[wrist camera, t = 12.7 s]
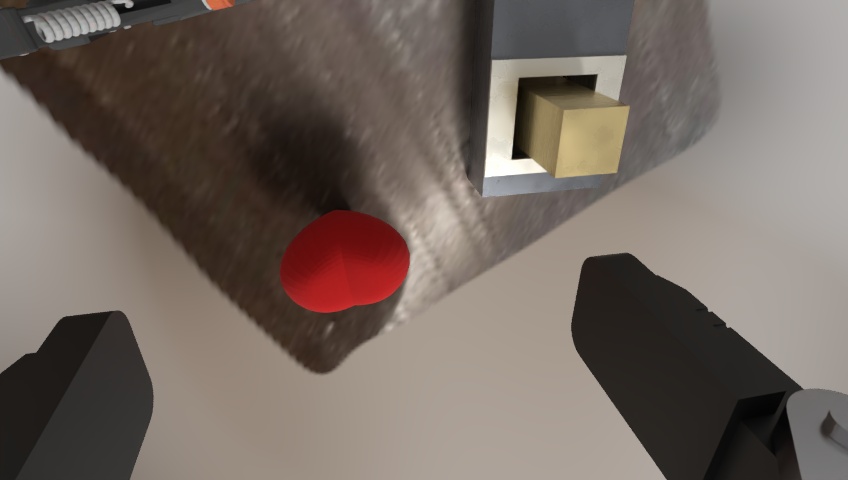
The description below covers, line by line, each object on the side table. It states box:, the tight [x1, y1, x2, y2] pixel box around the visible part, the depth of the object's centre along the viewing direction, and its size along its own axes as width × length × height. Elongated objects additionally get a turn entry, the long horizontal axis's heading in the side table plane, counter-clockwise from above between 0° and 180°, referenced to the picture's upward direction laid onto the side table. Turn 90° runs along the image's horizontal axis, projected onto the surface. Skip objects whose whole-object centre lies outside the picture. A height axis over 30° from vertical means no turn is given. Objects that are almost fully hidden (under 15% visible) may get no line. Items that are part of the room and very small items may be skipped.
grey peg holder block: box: [468, 0, 635, 197], centre depth 35 cm, size 24×10×4 cm, turn 0°
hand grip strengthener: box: [0, 0, 254, 59], centre depth 25 cm, size 2×13×15 cm, turn 101°
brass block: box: [513, 76, 630, 178], centre depth 35 cm, size 4×4×10 cm
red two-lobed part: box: [280, 210, 410, 313], centre depth 37 cm, size 9×7×10 cm
